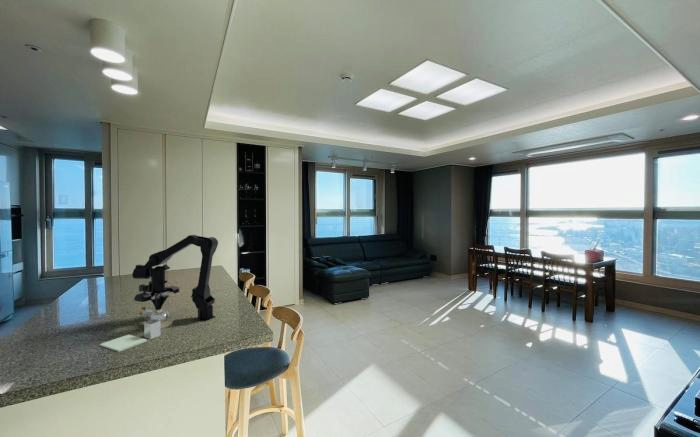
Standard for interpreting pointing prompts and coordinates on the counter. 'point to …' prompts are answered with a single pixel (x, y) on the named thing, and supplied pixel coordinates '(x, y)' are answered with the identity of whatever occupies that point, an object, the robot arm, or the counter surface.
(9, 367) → the counter surface
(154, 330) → the grey rectangular block
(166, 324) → the base
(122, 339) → the mat
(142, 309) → the crank handle
